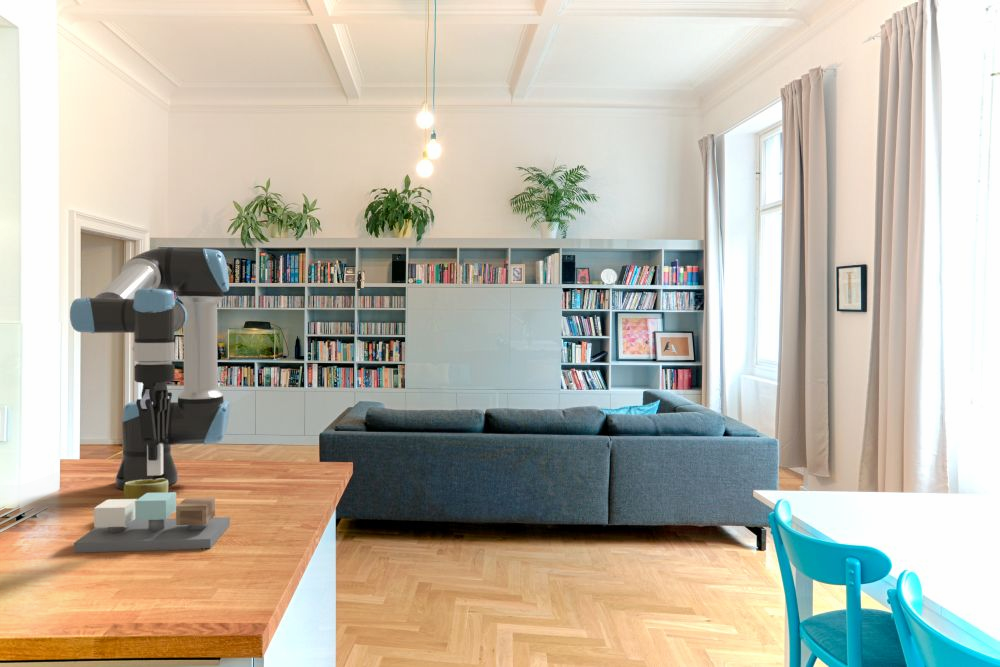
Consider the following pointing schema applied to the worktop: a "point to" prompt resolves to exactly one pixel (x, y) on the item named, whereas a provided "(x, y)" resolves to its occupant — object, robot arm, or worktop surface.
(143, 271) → the robot arm
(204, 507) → the walnut key
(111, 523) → the ivory key
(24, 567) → the worktop surface
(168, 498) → the teal key
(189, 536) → the console
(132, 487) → the mug
